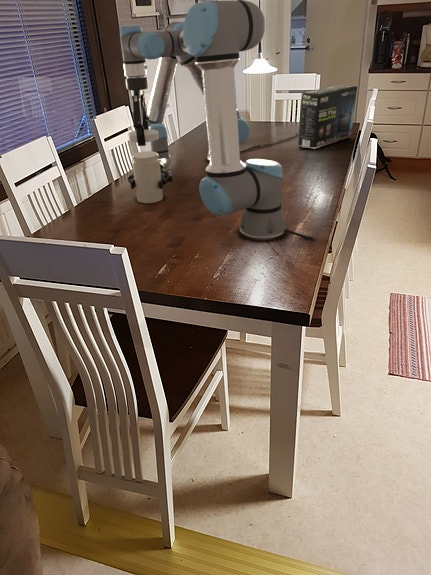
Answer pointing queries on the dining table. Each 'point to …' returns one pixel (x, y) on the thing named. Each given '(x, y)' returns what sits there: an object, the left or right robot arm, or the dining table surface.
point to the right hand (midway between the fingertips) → (144, 141)
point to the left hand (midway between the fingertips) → (146, 185)
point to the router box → (326, 115)
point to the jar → (147, 176)
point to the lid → (149, 135)
